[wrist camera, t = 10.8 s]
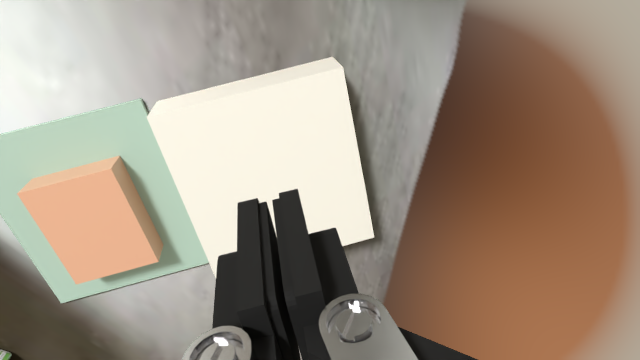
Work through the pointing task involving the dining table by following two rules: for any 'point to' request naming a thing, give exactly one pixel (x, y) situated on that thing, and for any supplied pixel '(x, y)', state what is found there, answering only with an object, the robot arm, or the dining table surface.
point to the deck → (266, 152)
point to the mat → (84, 148)
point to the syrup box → (5, 355)
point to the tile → (93, 219)
